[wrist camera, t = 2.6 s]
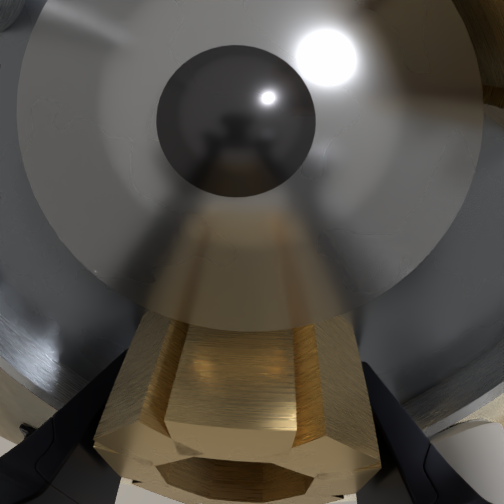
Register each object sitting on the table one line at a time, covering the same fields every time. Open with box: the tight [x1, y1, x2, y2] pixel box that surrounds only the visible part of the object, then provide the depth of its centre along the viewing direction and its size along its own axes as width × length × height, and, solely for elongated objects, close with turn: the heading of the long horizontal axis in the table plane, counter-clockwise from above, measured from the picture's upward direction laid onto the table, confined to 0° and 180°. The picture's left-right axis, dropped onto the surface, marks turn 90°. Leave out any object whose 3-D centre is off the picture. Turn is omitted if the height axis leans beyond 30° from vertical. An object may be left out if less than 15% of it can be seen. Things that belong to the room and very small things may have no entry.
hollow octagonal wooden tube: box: [93, 310, 382, 504], centre depth 8 cm, size 6×6×4 cm
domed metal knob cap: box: [17, 0, 484, 332], centre depth 5 cm, size 7×7×3 cm
